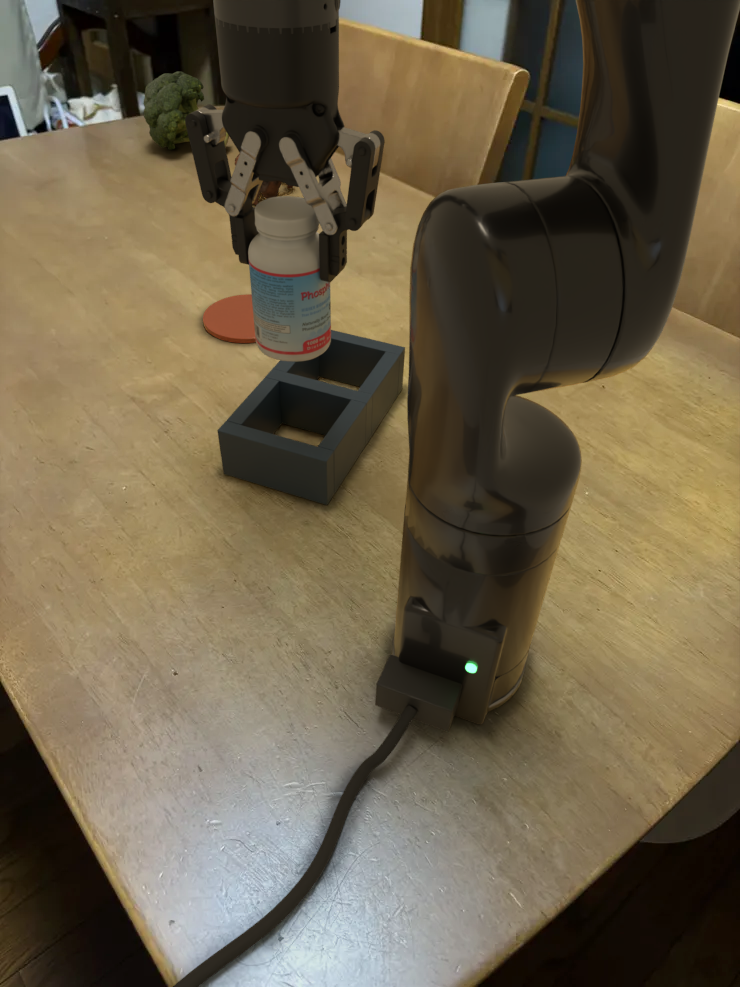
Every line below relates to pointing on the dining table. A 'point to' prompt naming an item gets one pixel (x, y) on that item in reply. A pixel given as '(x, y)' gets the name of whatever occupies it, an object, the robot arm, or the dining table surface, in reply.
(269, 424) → the bottle holder
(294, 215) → the pill bottle
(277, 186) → the pottery mug
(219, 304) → the coaster
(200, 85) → the vegetable
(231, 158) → the dining table surface
